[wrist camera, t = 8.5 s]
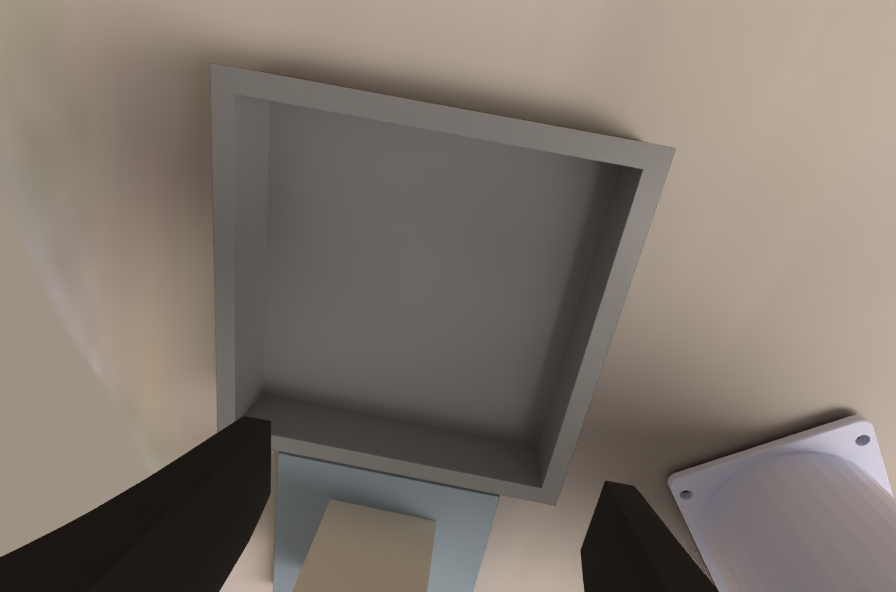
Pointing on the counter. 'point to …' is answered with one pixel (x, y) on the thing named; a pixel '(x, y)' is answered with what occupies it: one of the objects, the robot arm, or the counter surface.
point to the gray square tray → (418, 277)
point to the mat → (318, 481)
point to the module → (368, 552)
